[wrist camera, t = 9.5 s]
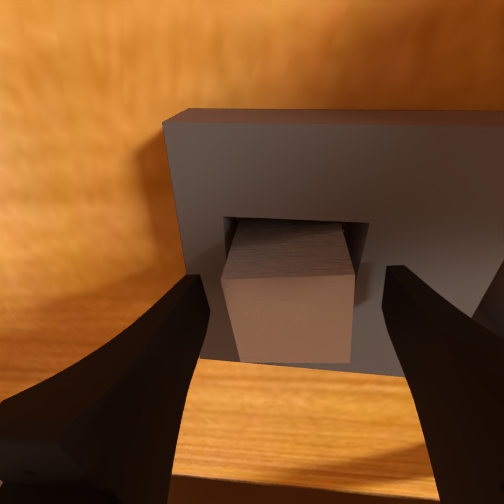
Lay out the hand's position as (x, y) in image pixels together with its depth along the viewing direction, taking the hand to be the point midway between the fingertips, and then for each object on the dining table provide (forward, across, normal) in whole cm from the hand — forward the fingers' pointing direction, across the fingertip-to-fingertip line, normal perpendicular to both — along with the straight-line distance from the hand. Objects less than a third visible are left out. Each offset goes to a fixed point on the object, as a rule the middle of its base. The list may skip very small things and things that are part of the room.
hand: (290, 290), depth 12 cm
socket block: (+4, -4, +1) cm, 6 cm away
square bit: (+4, 0, 0) cm, 4 cm away
